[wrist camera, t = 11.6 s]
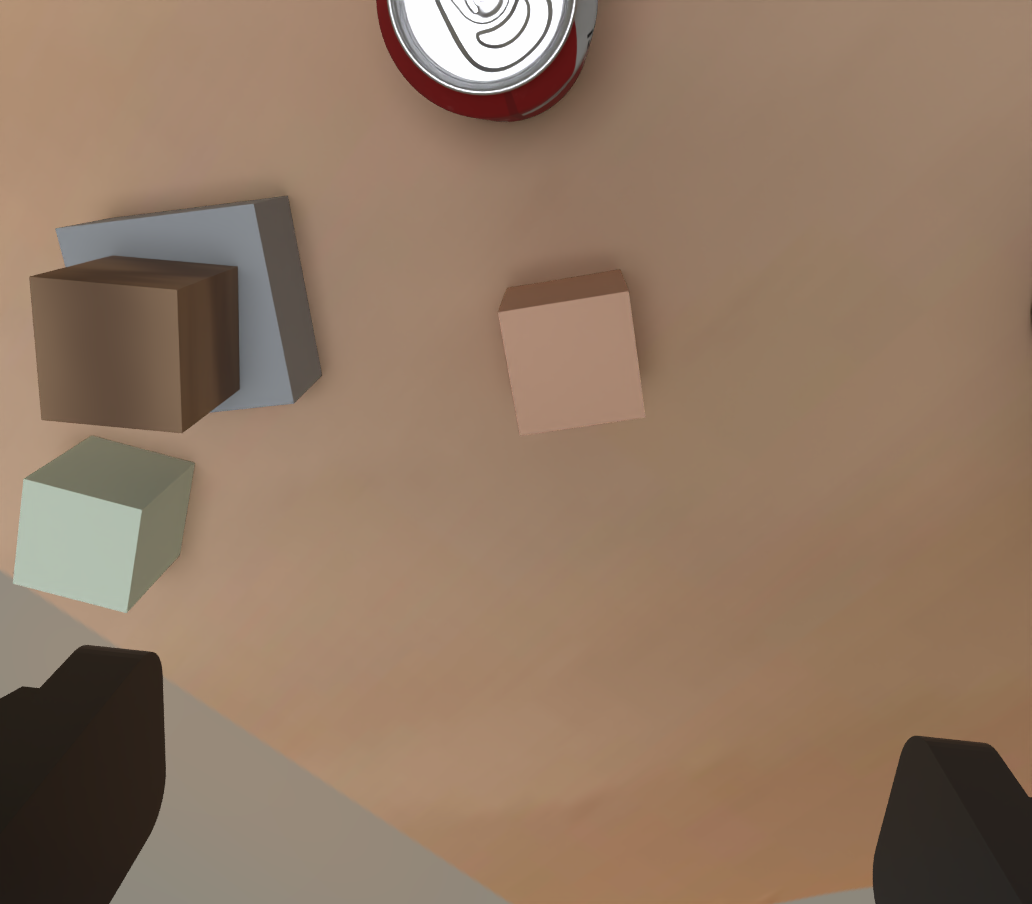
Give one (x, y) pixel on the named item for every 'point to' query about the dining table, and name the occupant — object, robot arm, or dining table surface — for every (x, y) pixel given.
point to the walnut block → (136, 342)
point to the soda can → (489, 52)
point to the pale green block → (102, 522)
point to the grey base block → (261, 283)
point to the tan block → (571, 353)
